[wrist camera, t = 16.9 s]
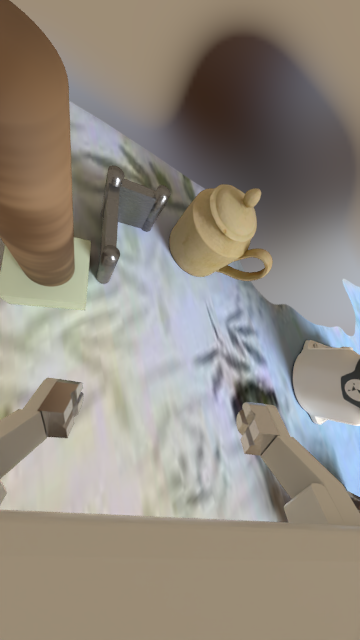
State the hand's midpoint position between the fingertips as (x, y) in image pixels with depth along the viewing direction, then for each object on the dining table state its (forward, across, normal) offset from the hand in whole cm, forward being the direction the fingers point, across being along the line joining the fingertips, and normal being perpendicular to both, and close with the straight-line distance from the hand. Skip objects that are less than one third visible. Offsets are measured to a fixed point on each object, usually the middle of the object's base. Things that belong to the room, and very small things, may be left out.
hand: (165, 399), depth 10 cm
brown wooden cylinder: (+16, +14, 0) cm, 21 cm away
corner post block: (+25, +7, -1) cm, 26 cm away
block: (+19, +15, +3) cm, 24 cm away
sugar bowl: (+32, -6, -1) cm, 33 cm away
